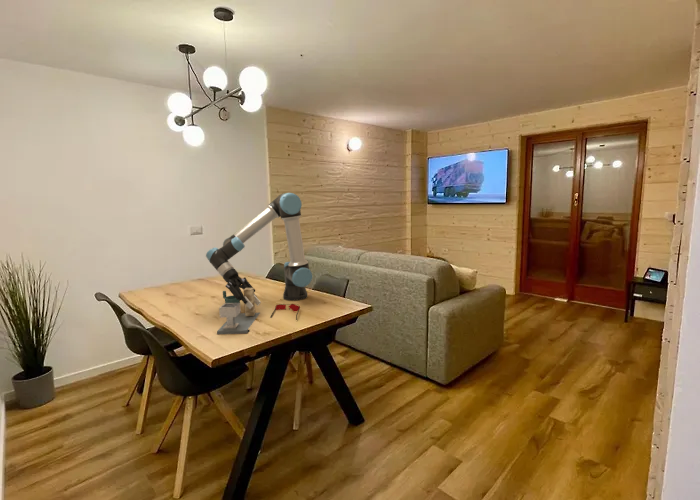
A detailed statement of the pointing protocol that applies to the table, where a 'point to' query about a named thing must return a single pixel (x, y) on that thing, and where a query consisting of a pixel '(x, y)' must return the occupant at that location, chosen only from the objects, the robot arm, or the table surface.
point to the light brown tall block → (250, 295)
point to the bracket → (230, 298)
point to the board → (243, 326)
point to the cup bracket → (230, 314)
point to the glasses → (283, 306)
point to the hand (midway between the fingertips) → (255, 305)
